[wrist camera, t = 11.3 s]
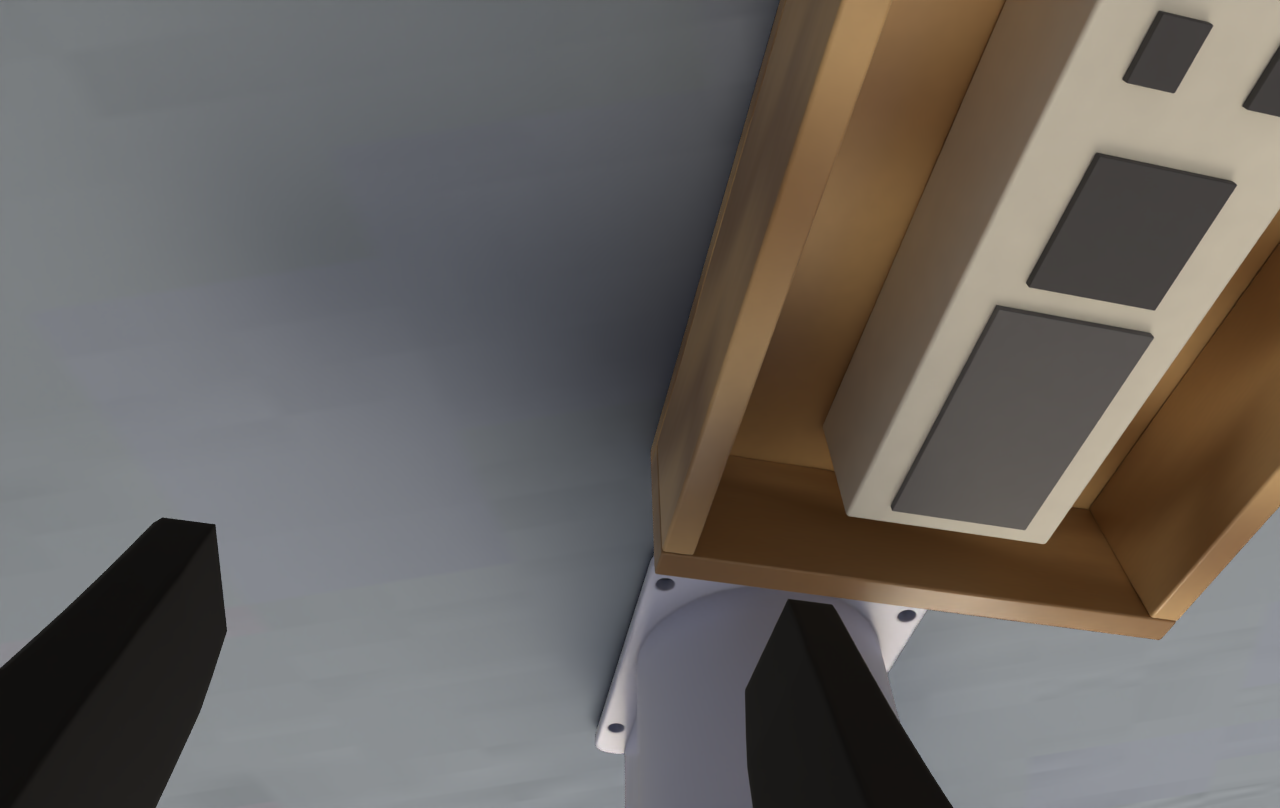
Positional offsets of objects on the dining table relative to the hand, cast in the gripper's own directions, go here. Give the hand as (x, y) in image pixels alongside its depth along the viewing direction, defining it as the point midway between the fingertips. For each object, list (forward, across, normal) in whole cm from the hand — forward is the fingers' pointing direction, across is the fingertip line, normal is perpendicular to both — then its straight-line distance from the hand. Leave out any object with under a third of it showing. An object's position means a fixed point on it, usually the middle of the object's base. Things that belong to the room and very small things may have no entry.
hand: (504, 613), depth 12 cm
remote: (+9, -9, -4) cm, 13 cm away
